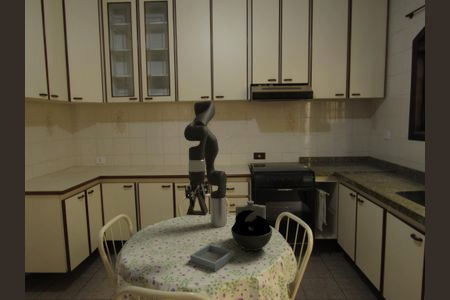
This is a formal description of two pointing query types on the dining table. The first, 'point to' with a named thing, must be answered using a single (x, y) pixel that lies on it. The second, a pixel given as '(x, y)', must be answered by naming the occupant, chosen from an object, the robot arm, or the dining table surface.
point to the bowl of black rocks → (251, 231)
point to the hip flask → (258, 210)
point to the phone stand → (201, 203)
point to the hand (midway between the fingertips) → (197, 205)
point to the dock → (212, 257)
